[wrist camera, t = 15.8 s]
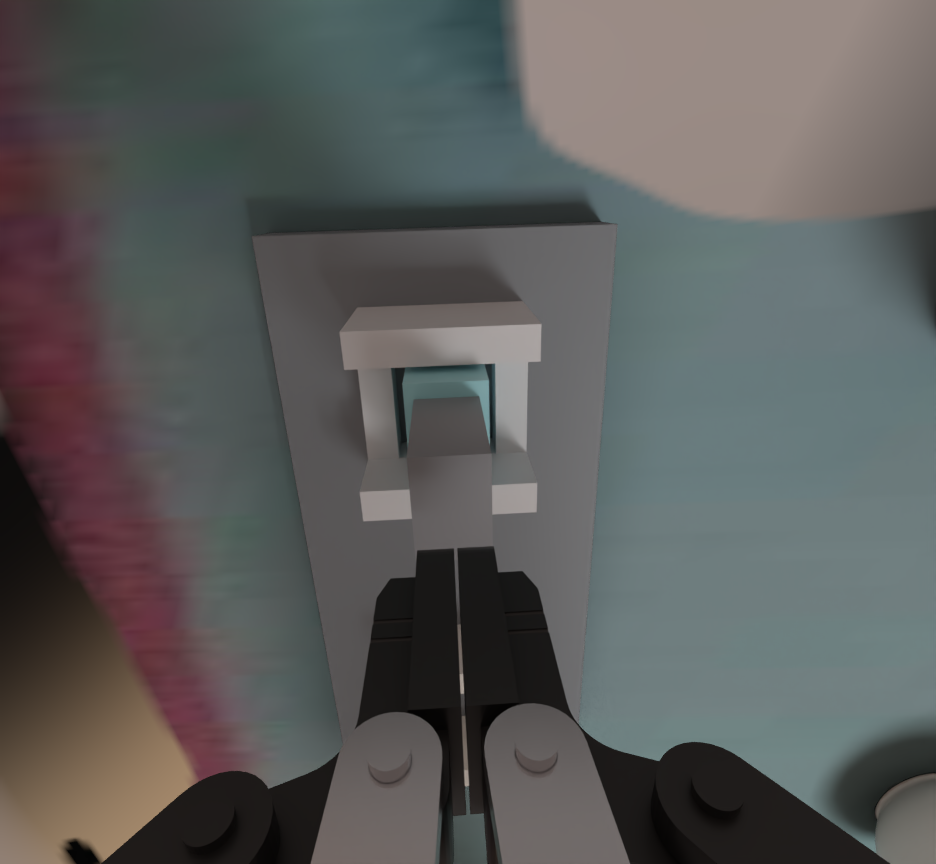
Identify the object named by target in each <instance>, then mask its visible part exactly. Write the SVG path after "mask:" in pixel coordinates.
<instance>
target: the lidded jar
mask: <svg viewBox="0 0 936 864" xmlns="http://www.w3.org/2000/svg"><path fill="white" fill-rule="evenodd" d="M875 816H876V818H877V825H876V831H875V846H876V853H877V855H879V856H880V857H882V858H883V859H884V860H886V861H887V862H889V863H890V864H936V773H930V774H924V775H919V776H916V777H913V778H910V779H907V780H905V781H903V782H901V783H899V784H897V785H896V786H894V787H893V788H891V789H890V790H889V791H887V792H886V793H885V794H884V795H883V796H882V798H881V799H880V800H879V802H878V803H877V806H876V808H875Z"/></svg>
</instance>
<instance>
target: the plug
mask: <svg viewBox="0 0 936 864" xmlns="http://www.w3.org/2000/svg"><path fill="white" fill-rule="evenodd" d="M402 386H403V398H404V410H405V422H406V434H407V446H408V451H407V467H408V479H409V491H410V502H411V514H412V526H413V537H414V549H415V561H416V559H417V550H432V549H450V548H454V560H458V555H457V548H466V547H485V546H493V523H492V455H491V449H490V420H489V379H488V375H487V372H486V368H485V365H484V364H471V365H448V366H425V367H405V373H404V378H403V383H402Z"/></svg>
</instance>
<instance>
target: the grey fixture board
mask: <svg viewBox="0 0 936 864" xmlns="http://www.w3.org/2000/svg"><path fill="white" fill-rule="evenodd" d="M616 236H617V224H612V223H606V222H585V223H555V224H525V225H495V226H465V227H435V228H405V229H375V230H346V231H316V232H286V233H266V234H261V235H257V236H252V241H253V247H254V252H255V258H256V264H257V269H258V275H259V280H260V286H261V291H262V297H263V302H264V308H265V314H266V319H267V325H268V330H269V336H270V341H271V347H272V352H273V358H274V364H275V369H276V375H277V380H278V386H279V391H280V397H281V402H282V408H283V414H284V419H285V425H286V430H287V436H288V441H289V447H290V452H291V458H292V464H293V469H294V475H295V480H296V486H297V491H298V497H299V502H300V508H301V514H302V519H303V525H304V530H305V536H306V541H307V547H308V553H309V558H310V564H311V569H312V575H313V580H314V586H315V591H316V597H317V603H318V608H319V614H320V619H321V625H322V630H323V636H324V641H325V647H326V653H327V658H328V664H329V669H330V675H331V680H332V686H333V691H334V697H335V703H336V708H337V714H338V719H339V725H340V730H341V736H342V741H343V744H344V742H345V741H346V739H347V738H348V737H349V735H350V734H351V733H352V732H353V731H354V730H355V727H356V725H357V721H358V717H359V710H360V704H361V697H362V690H363V684H364V677H365V671H366V664H367V658H368V651H369V645H370V642H371V640H370V638H371V631H372V625H373V618H374V612H375V605H376V599H377V597H378V595H379V594H380V592H381V591H382V590H383V588H384V587H385V585H386V584H387V583H388V581H389V580H390V578H408V577H415V576H416V561H415V549H414V537H413V526H412V514H411V502H410V491H409V479H408V467H407V451H408V446H407V434H406V422H405V410H404V398H403V386H402V383H403V378H404V373H405V367H425V366H448V365H471V364H484V365H485V368H486V372H487V375H488V379H489V420H490V449H491V455H492V523H493V546H494V549H495V555H496V562H497V568H498V572H513V571H523V572H524V573H525V574H526V575H527V577H528V578H529V579H530V580H531V581H532V582H533V583H534V585H535V586H536V587H537V588H538V590H539V594H540V598H541V602H542V606H543V612H544V614H545V618H546V622H547V626H548V632H549V634H550V637H551V641H552V645H553V649H554V653H555V657H556V661H557V665H558V669H559V673H560V677H561V680H562V684H563V688H564V692H565V696H566V700H567V704H568V706H569V709H570V712H571V713H572V715H573V717H574V719H575V720H576V722H577V723H578V724H579V712H580V699H581V686H582V673H583V660H584V647H585V635H586V622H587V609H588V596H589V583H590V570H591V558H592V545H593V532H594V519H595V506H596V493H597V480H598V468H599V455H600V442H601V429H602V416H603V403H604V391H605V378H606V365H607V352H608V339H609V326H610V314H611V301H612V288H613V275H614V262H615V249H616ZM454 561H455V583H456V605H457V626H458V648H459V670H460V692H461V714H462V736H463V758H464V779H465V786H469V776H468V758H467V739H466V720H465V701H464V682H463V663H462V644H461V624H460V602H459V579H458V560H454Z"/></svg>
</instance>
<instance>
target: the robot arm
mask: <svg viewBox="0 0 936 864" xmlns="http://www.w3.org/2000/svg"><path fill="white" fill-rule="evenodd" d="M457 555H458V579H459V602H460V624H461V644H462V663H463V682H464V701H465V720H466V739H467V758H468V776H469V795H470V814H481V813H484V822H485V836H486V849H487V864H890V863H889V862H887V861H886V860H884V859H883V858H882V857H880V856H879V855H877V854H876V853H875V852H873V851H872V850H870V849H869V848H867V847H866V846H865V845H863V844H862V843H860V842H859V841H858V840H856V839H855V838H853V837H852V836H850V835H849V834H848V833H846V832H845V831H843V830H842V829H841V828H839V827H838V826H836V825H835V824H833V823H832V822H831V821H829V820H828V819H826V818H825V817H824V816H822V815H821V814H819V813H818V812H816V811H815V810H814V809H812V808H811V807H809V806H808V805H806V804H805V803H804V802H802V801H801V800H799V799H798V798H797V797H795V796H794V795H792V794H791V793H789V792H788V791H787V790H785V789H784V788H782V787H781V786H780V785H778V784H777V783H775V782H774V781H772V780H771V779H770V778H768V777H767V776H765V775H764V774H763V773H761V772H760V771H758V770H757V769H755V768H754V767H753V766H751V765H750V764H748V763H747V762H746V761H744V760H743V759H741V758H740V757H738V756H736V755H735V754H733V753H732V752H730V751H727V750H725V749H723V748H721V747H718V746H715V745H712V744H707V743H701V742H689V743H683V744H680V745H677V746H675V747H673V748H671V749H669V750H668V751H667V752H666V753H665V754H664V755H663V757H662V758H661V760H660V761H656V760H652V759H648V758H644V757H640V756H636V755H632V754H628V753H624V752H621V751H617V750H614V749H612V748H609V747H607V746H605V745H603V744H601V743H600V742H598V741H597V740H595V739H593V738H592V737H591V736H590V735H589V734H587V733H586V732H585V731H584V730H583V729H582V728H581V727H580V726H579V724H578V723H577V722H576V720H575V719H574V717H573V715H572V713H571V712H570V709H569V706H568V704H567V700H566V696H565V692H564V688H563V684H562V680H561V677H560V673H559V669H558V665H557V661H556V657H555V653H554V649H553V645H552V641H551V637H550V634H549V632H548V626H547V622H546V618H545V614H544V612H543V606H542V602H541V598H540V594H539V590H538V588H537V587H536V586H535V585H534V583H533V582H532V581H531V580H530V579H529V578H528V577H527V575H526V574H525V573H524V572H523V571H513V572H498V568H497V562H496V555H495V549H494V546H485V547H466V548H457ZM370 640H371V642H370V645H369V651H368V658H367V664H366V671H365V677H364V684H363V690H362V697H361V704H360V710H359V717H358V721H357V725H356V727H355V730H354V731H353V732H352V733H351V734H350V735H349V737H348V738H347V739H346V741H345V742H344V744H343V746H342V748H341V750H340V752H339V753H338V754H337V755H336V756H335V757H334V758H333V759H331V760H330V761H329V762H327V763H326V764H325V765H323V766H321V767H320V768H318V769H317V770H314V771H312V772H310V773H308V774H306V775H303V776H301V777H298V778H295V779H293V780H290V781H288V782H285V783H283V784H280V785H278V786H275V787H272V788H270V789H268V788H267V786H266V785H265V783H264V782H263V781H262V780H261V779H259V778H258V777H257V776H255V775H252V774H250V773H247V772H241V771H229V772H223V773H219V774H216V775H213V776H210V777H208V778H205V779H203V780H201V781H199V782H198V783H196V784H194V785H193V786H191V787H190V788H188V789H187V790H186V791H185V792H183V793H182V794H181V795H179V796H178V797H177V798H176V799H175V800H174V801H173V802H171V803H170V804H169V805H168V806H167V807H166V808H165V809H163V810H162V811H161V812H160V813H159V814H158V815H157V816H155V817H154V818H153V819H152V820H151V821H150V822H149V823H147V824H146V825H145V826H144V827H143V828H142V829H141V830H139V831H138V832H137V833H136V834H135V835H134V836H132V837H131V838H130V839H129V840H128V841H127V842H126V843H124V844H123V845H122V846H121V847H120V848H119V849H117V850H116V851H115V852H114V853H113V854H112V855H111V856H109V857H108V858H107V859H106V860H105V861H104V862H103V863H101V864H453V861H454V838H453V816H458V815H466V801H465V779H464V758H463V736H462V714H461V692H460V670H459V648H458V626H457V605H456V583H455V561H454V548H450V549H432V550H417V559H416V576H415V577H408V578H390V580H389V581H388V583H387V584H386V585H385V587H384V588H383V590H382V591H381V592H380V594H379V595H378V597H377V599H376V605H375V612H374V618H373V625H372V631H371V638H370Z"/></svg>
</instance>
